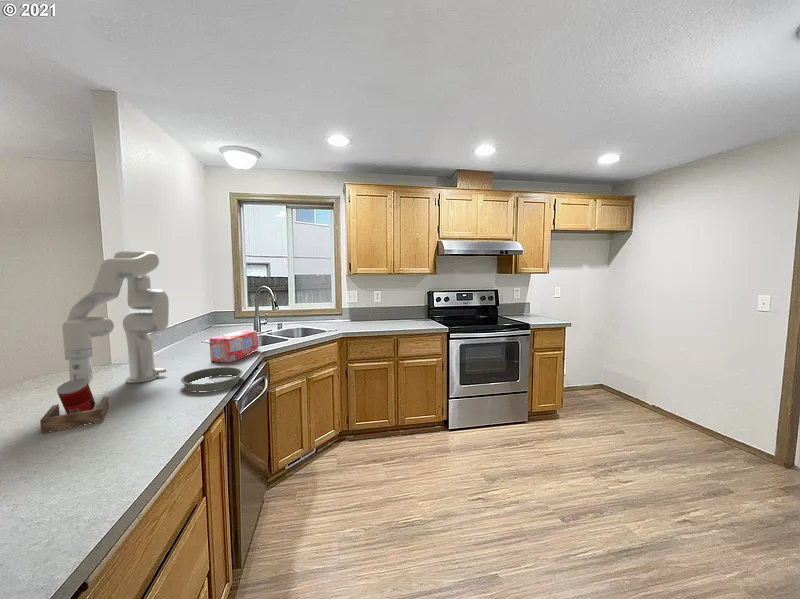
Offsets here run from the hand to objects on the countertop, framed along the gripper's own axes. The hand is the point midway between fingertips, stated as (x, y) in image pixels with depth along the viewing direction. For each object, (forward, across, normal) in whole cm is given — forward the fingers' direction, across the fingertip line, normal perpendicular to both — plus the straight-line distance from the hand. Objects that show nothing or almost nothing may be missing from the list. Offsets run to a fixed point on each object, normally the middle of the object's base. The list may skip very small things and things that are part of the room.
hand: (82, 401), depth 127 cm
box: (+2, +49, -59) cm, 76 cm away
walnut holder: (+3, -11, -1) cm, 12 cm away
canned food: (+2, -4, 0) cm, 5 cm away
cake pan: (+3, +4, -43) cm, 44 cm away
